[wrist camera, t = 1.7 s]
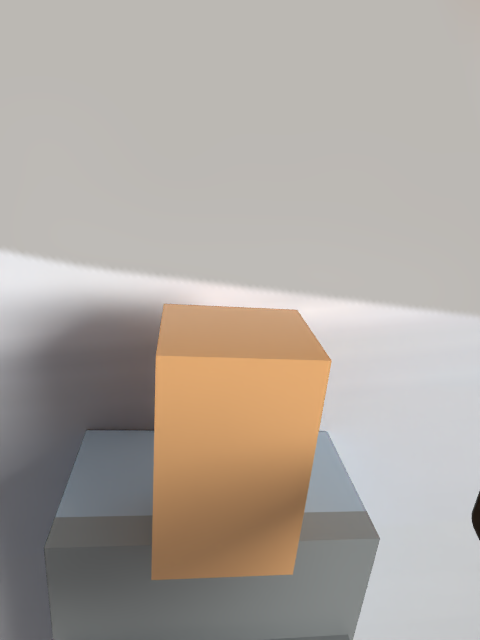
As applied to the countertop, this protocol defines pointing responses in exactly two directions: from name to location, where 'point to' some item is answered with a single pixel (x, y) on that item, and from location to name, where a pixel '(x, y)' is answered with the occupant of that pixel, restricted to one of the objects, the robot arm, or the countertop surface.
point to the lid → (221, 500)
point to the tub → (137, 477)
